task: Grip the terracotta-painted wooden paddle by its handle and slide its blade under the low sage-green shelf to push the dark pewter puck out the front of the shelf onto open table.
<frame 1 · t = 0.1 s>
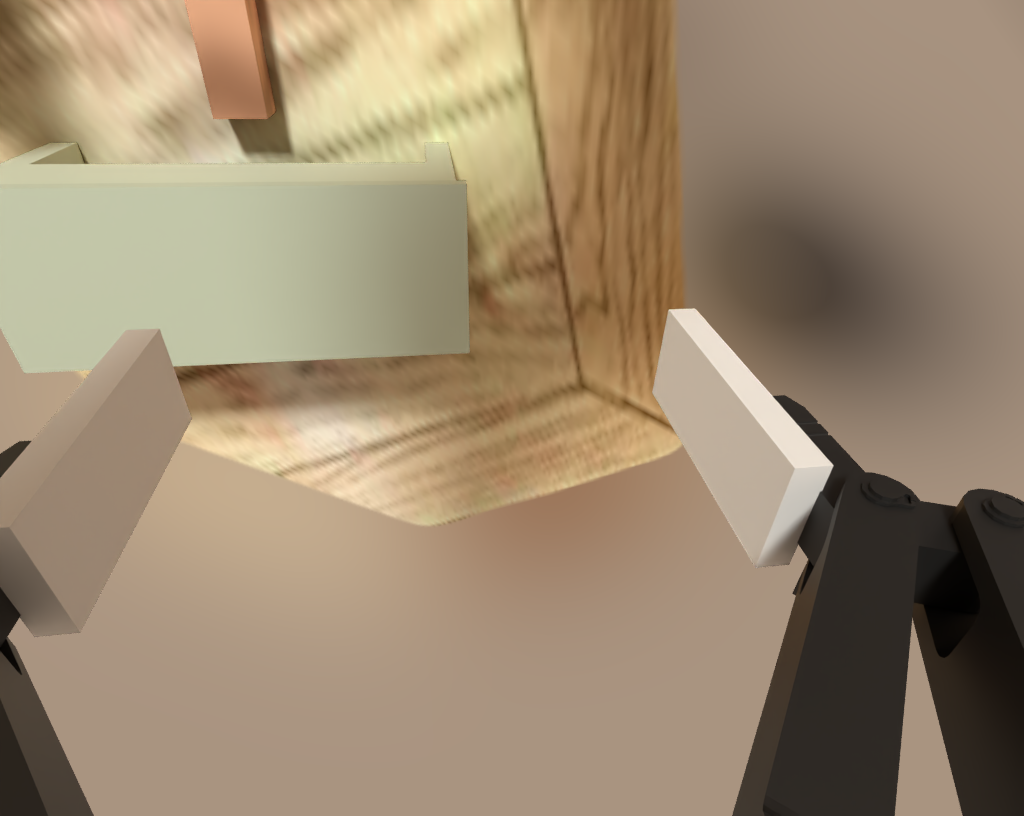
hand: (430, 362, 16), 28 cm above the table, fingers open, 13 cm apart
shelf: (273, 221, 40), on the table
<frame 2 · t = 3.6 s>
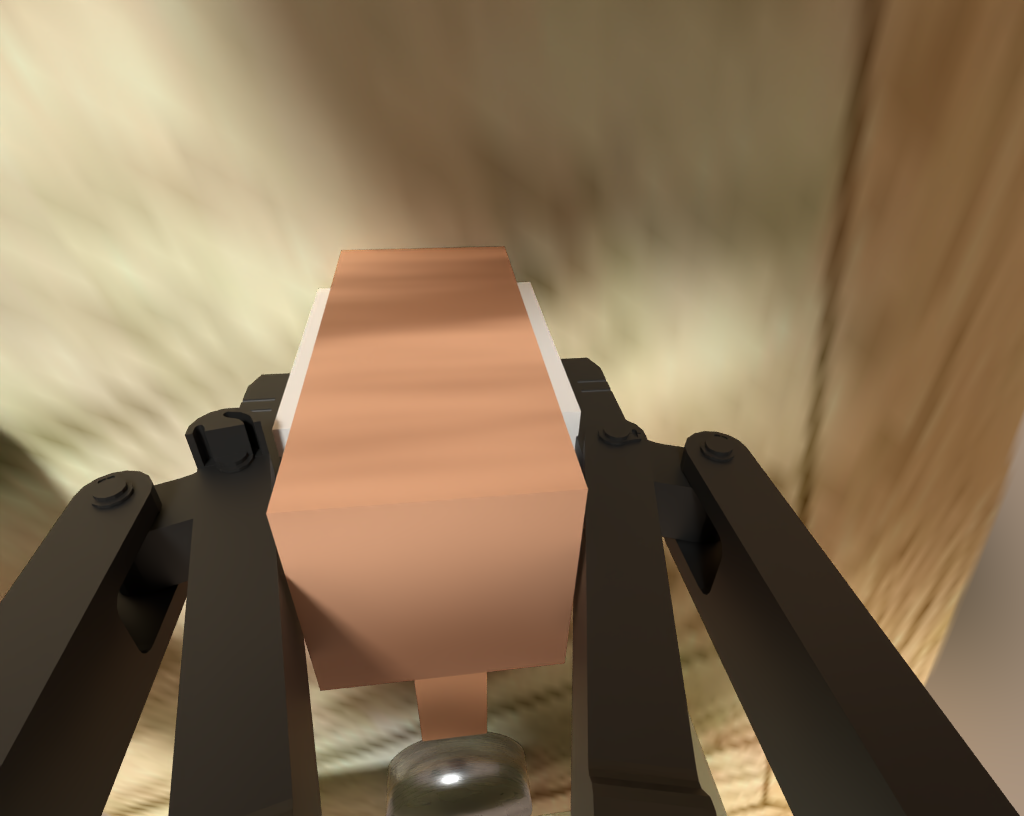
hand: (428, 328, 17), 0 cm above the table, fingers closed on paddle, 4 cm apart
puck: (457, 762, 35), on the table
paddle: (428, 321, 18), on the table, touching gripper
shelf: (456, 750, 33), on the table
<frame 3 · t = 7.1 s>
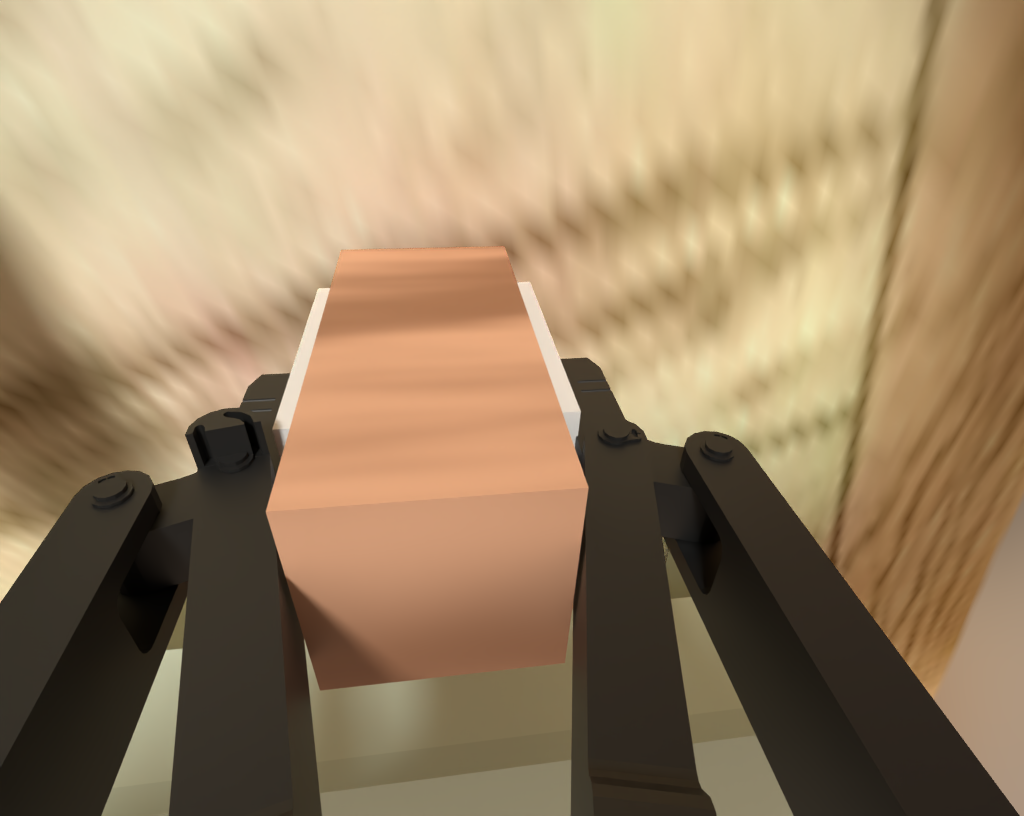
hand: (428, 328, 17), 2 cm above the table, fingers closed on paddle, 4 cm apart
paddle: (428, 321, 18), point 2 cm above the table, touching gripper
shelf: (448, 583, 27), on the table
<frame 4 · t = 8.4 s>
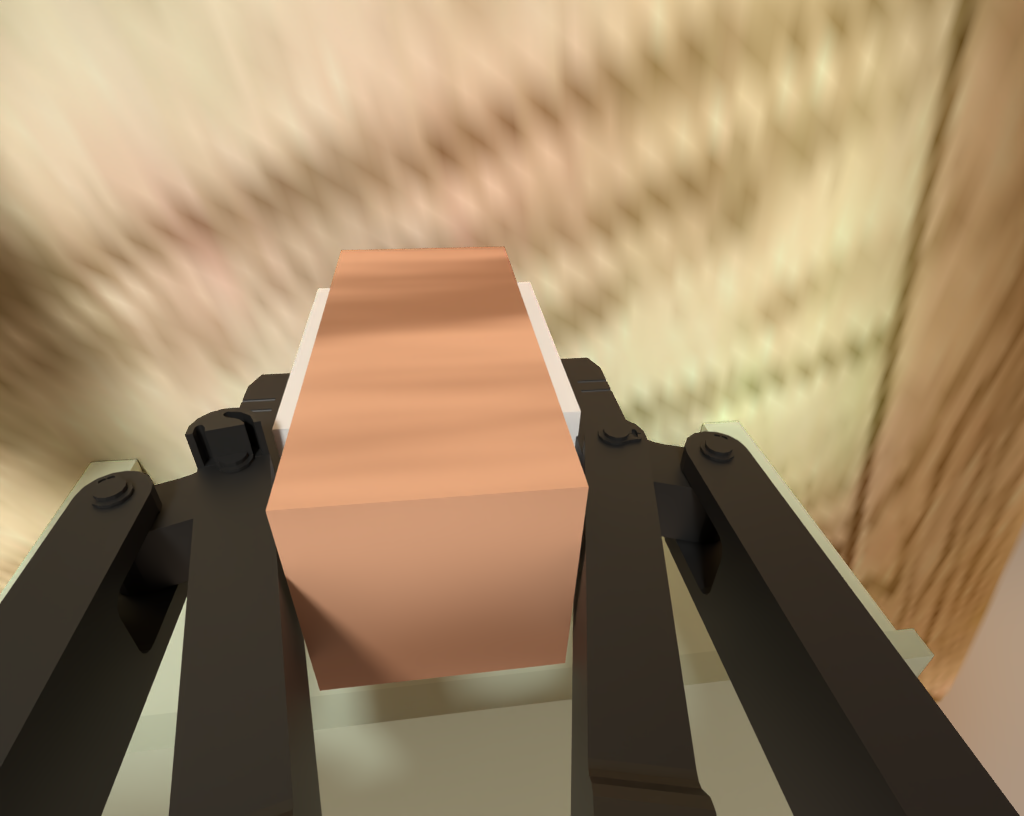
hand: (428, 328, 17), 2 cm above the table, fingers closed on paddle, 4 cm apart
paddle: (428, 321, 18), point 1 cm above the table, touching gripper
shelf: (442, 532, 25), on the table
when the fingers open (0 cm above the table, at t = 10.3 s): paddle stays where it is, on the table.
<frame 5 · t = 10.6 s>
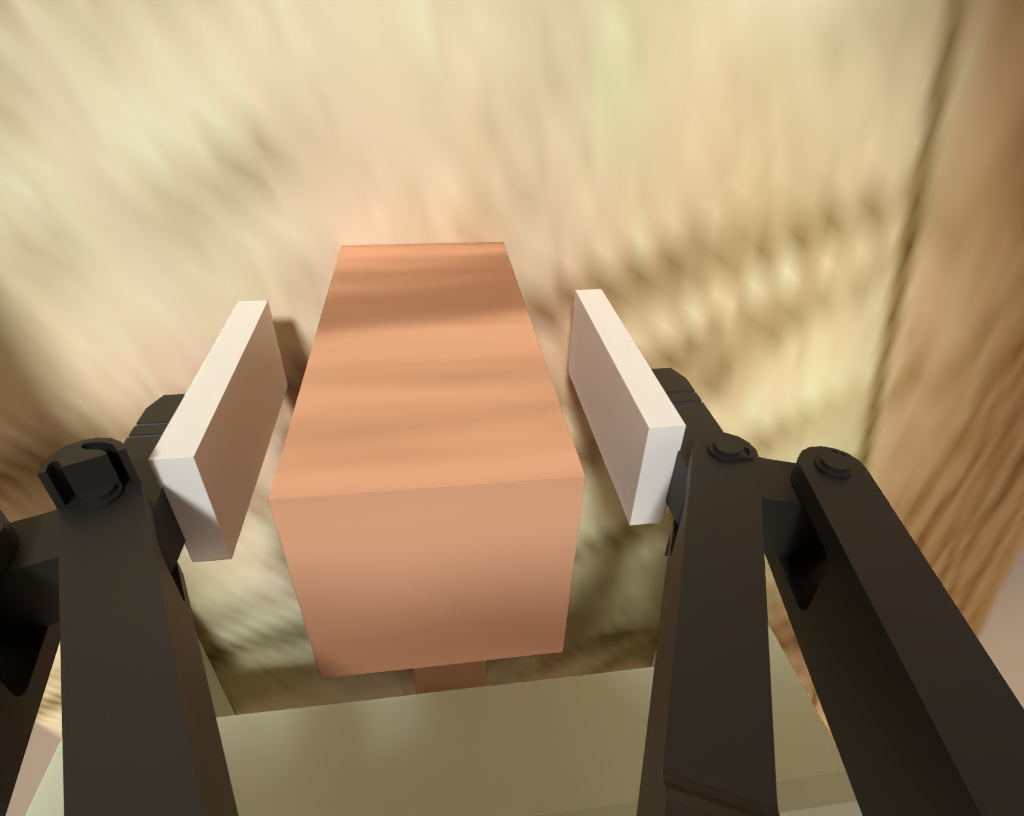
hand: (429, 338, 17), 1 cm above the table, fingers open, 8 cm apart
paddle: (428, 316, 18), on the table
shelf: (448, 633, 27), on the table
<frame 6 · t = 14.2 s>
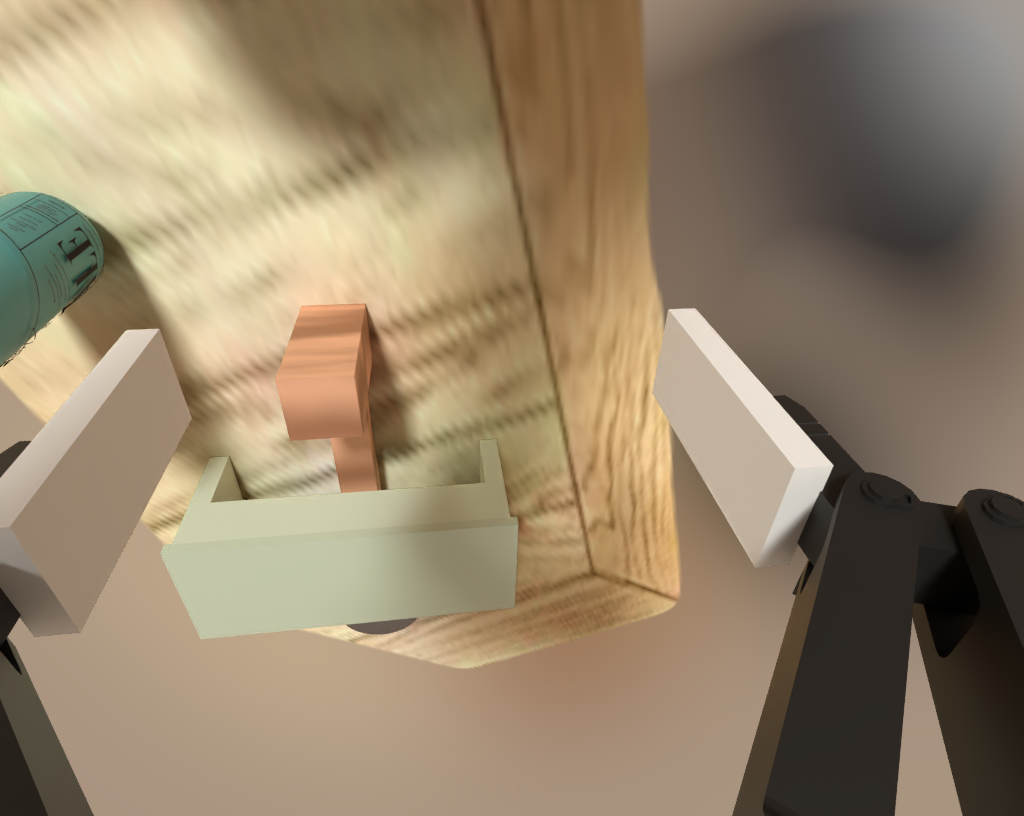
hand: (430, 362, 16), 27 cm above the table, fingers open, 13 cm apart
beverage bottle: (64, 231, 38), on the table
puck: (381, 585, 61), on the table
paddle: (338, 332, 44), on the table
shelf: (364, 490, 53), on the table
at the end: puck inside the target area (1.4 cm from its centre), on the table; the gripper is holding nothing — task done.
